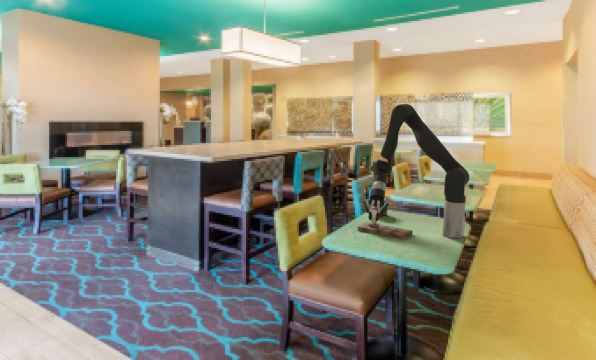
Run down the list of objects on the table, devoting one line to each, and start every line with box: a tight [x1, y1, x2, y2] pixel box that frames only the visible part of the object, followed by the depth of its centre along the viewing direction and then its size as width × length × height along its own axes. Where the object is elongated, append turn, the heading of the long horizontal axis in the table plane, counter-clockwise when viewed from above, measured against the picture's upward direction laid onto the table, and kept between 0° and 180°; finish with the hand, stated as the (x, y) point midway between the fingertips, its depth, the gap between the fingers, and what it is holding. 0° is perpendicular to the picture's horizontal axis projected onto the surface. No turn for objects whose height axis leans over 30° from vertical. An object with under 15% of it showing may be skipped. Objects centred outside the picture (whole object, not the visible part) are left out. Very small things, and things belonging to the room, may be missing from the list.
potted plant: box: [379, 196, 390, 218], centre depth 220 cm, size 12×6×10 cm, turn 143°
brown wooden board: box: [357, 221, 414, 241], centre depth 190 cm, size 25×10×2 cm, turn 55°
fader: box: [369, 206, 380, 227], centre depth 192 cm, size 4×4×10 cm
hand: (373, 220), depth 190 cm, fingers closed on fader, 2 cm apart
